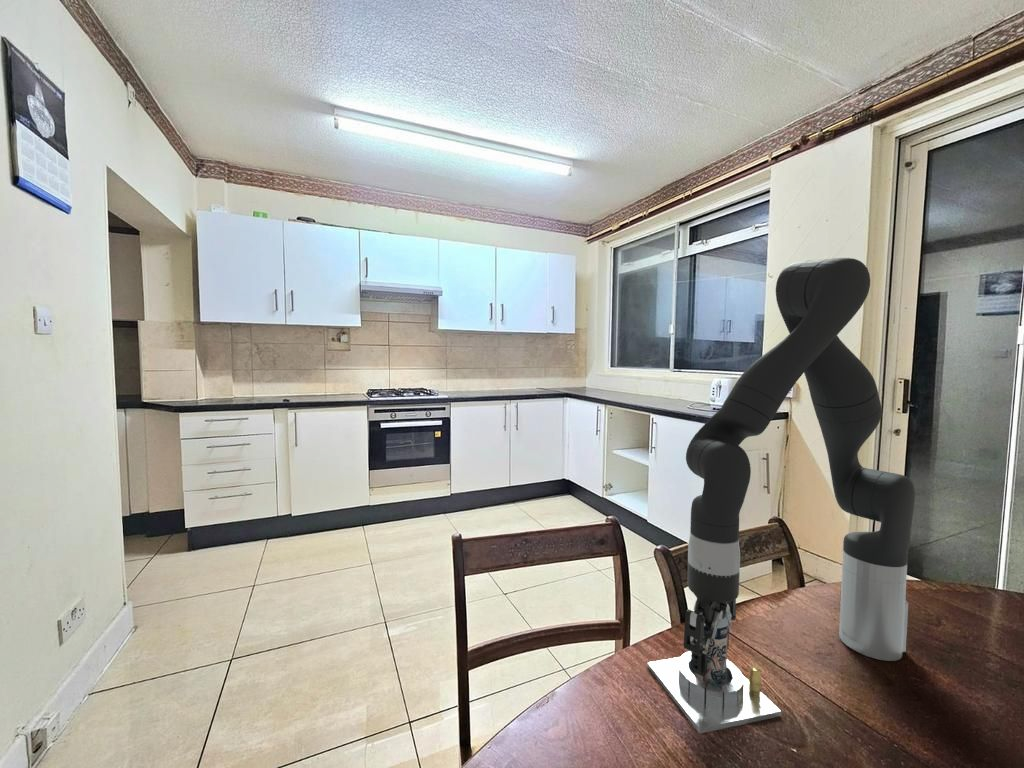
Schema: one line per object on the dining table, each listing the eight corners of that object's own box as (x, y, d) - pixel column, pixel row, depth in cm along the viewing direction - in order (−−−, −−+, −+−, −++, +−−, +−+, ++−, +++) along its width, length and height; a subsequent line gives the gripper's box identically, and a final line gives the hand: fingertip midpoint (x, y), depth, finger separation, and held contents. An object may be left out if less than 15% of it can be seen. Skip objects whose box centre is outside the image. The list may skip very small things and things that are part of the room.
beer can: (709, 698, 68) (711, 624, 67) (687, 677, 72) (689, 607, 72) (733, 691, 70) (735, 618, 69) (709, 671, 74) (712, 602, 73)
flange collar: (717, 655, 79) (717, 629, 79) (781, 716, 66) (782, 685, 65) (647, 666, 76) (648, 640, 76) (699, 733, 62) (700, 701, 62)
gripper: (719, 586, 62) (716, 696, 63) (754, 556, 72) (751, 651, 73) (669, 568, 68) (667, 669, 68) (708, 542, 77) (705, 631, 78)
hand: (710, 660), depth 71 cm, fingers open, 8 cm apart
